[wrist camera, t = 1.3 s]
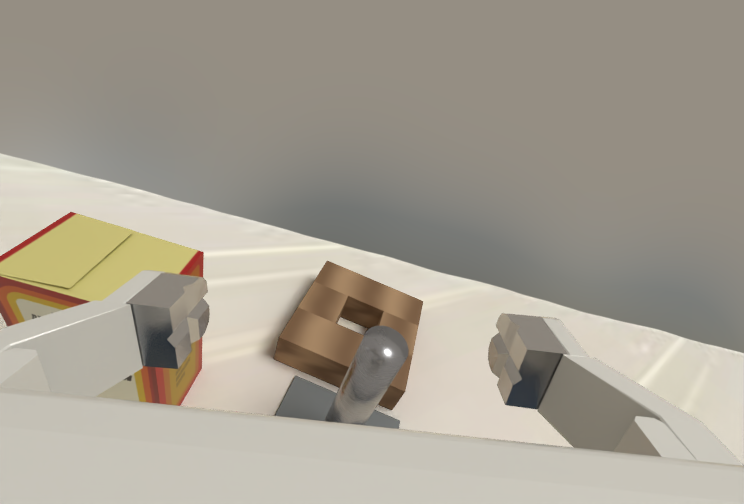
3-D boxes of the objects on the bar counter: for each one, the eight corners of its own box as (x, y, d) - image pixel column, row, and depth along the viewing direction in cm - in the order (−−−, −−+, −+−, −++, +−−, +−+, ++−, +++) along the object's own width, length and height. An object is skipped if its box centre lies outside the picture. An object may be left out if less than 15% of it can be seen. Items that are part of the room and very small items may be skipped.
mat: (244, 476, 29) (244, 474, 29) (295, 377, 37) (295, 375, 37) (376, 535, 29) (377, 534, 29) (398, 422, 37) (400, 420, 37)
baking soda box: (201, 368, 35) (203, 248, 25) (163, 433, 30) (148, 313, 20) (105, 342, 34) (69, 207, 25) (48, 404, 29) (-25, 265, 19)
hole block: (273, 359, 38) (278, 337, 36) (320, 281, 49) (327, 260, 47) (391, 410, 38) (405, 391, 35) (412, 320, 49) (423, 301, 47)
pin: (309, 455, 32) (357, 354, 22) (322, 422, 34) (370, 318, 25) (341, 469, 31) (404, 374, 22) (352, 435, 34) (412, 336, 24)
